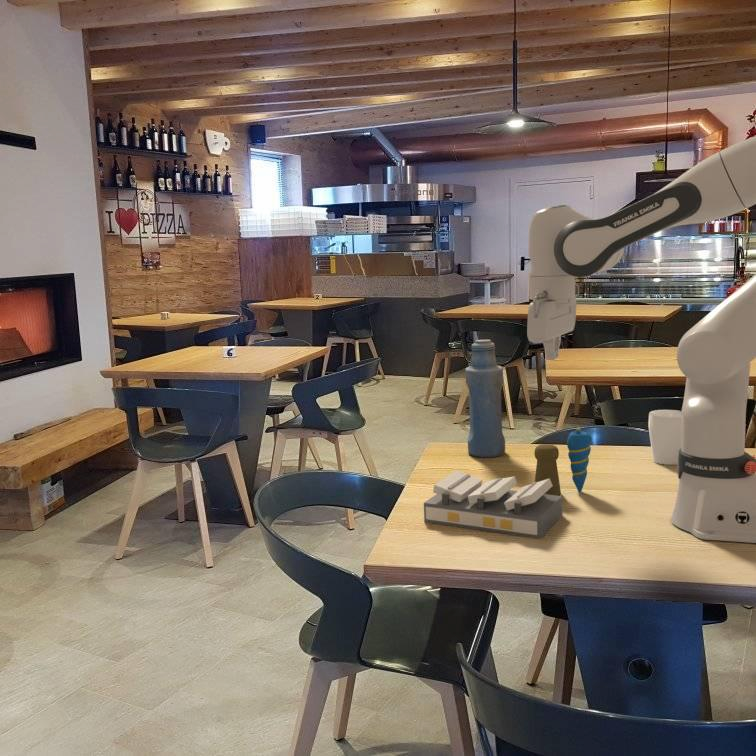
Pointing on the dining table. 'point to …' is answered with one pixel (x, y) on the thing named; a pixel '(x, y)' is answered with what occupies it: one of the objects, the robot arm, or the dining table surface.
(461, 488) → the grooved switch paddle
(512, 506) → the panel
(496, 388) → the bottle
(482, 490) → the rocker
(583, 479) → the ornament
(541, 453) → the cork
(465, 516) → the switch unit
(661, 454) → the cup
